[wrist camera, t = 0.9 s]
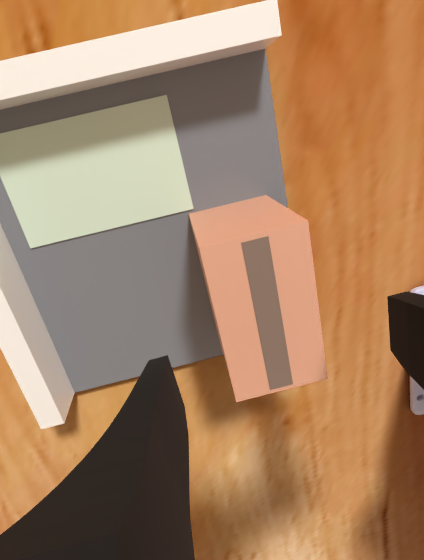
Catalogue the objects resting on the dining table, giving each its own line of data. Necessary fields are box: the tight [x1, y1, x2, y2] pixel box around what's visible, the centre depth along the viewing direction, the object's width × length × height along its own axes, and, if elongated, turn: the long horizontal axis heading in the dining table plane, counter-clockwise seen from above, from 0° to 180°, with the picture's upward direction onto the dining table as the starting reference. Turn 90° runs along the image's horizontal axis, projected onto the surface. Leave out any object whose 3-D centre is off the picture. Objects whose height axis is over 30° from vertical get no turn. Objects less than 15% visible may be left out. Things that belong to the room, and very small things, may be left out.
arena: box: [0, 0, 288, 429], centre depth 18 cm, size 16×15×3 cm
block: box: [189, 195, 327, 402], centre depth 18 cm, size 7×4×6 cm, turn 13°
